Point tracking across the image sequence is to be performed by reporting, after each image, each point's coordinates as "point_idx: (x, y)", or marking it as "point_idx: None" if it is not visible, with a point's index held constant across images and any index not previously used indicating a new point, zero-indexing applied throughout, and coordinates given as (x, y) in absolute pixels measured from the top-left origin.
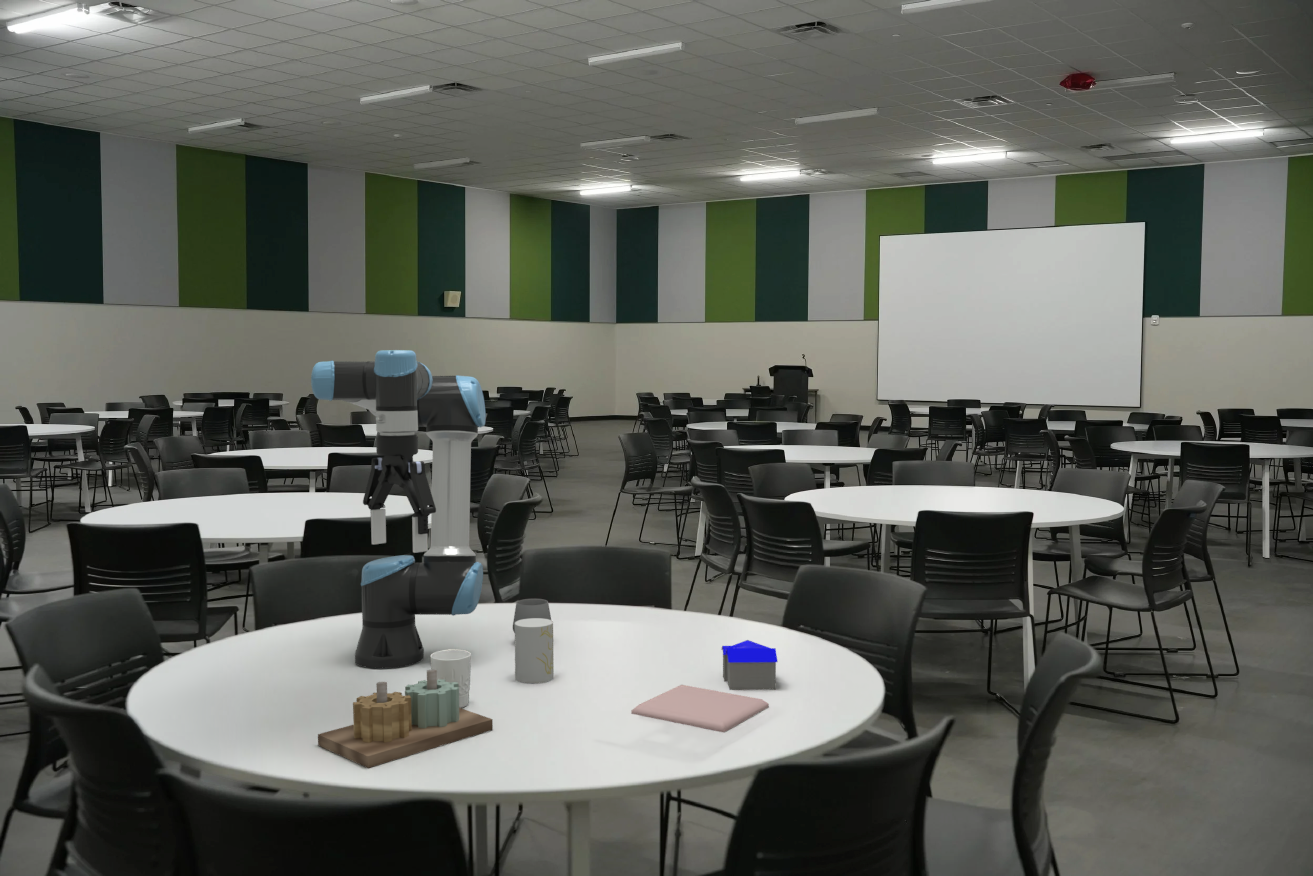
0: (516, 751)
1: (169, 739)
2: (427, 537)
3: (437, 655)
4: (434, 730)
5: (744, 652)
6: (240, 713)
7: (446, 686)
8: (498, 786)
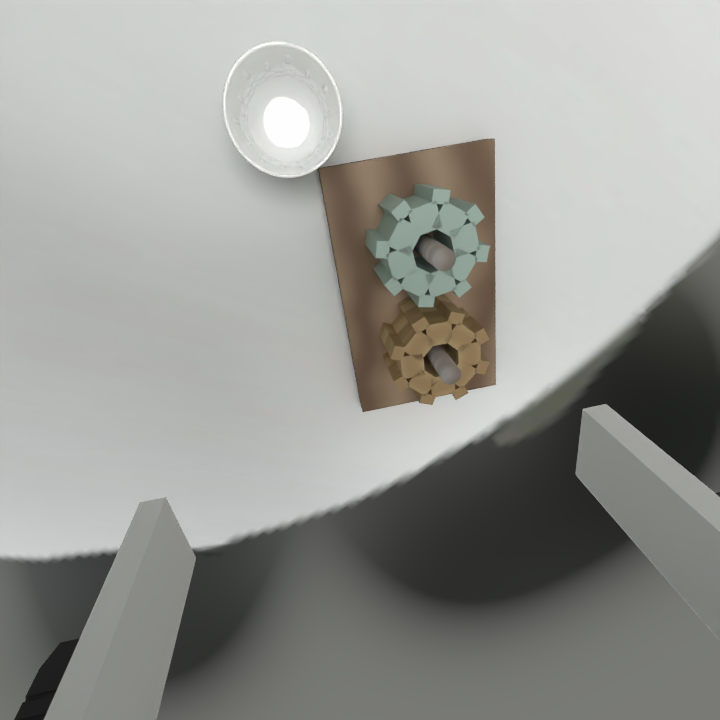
0: (599, 165)
1: (215, 536)
2: (669, 456)
3: (234, 132)
4: None
5: None
6: (134, 455)
7: (451, 223)
8: (672, 264)
